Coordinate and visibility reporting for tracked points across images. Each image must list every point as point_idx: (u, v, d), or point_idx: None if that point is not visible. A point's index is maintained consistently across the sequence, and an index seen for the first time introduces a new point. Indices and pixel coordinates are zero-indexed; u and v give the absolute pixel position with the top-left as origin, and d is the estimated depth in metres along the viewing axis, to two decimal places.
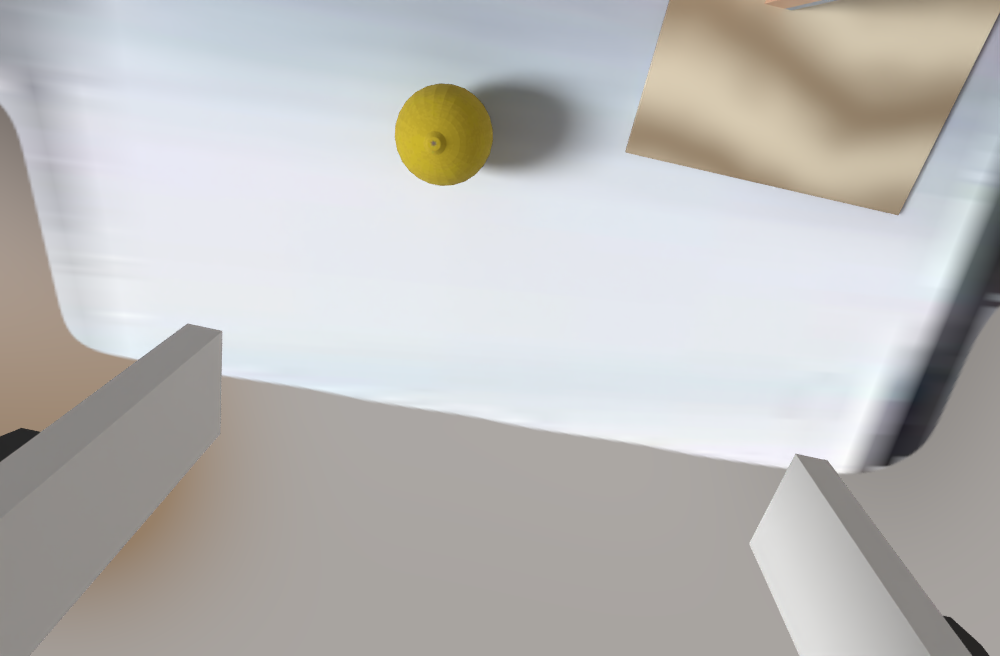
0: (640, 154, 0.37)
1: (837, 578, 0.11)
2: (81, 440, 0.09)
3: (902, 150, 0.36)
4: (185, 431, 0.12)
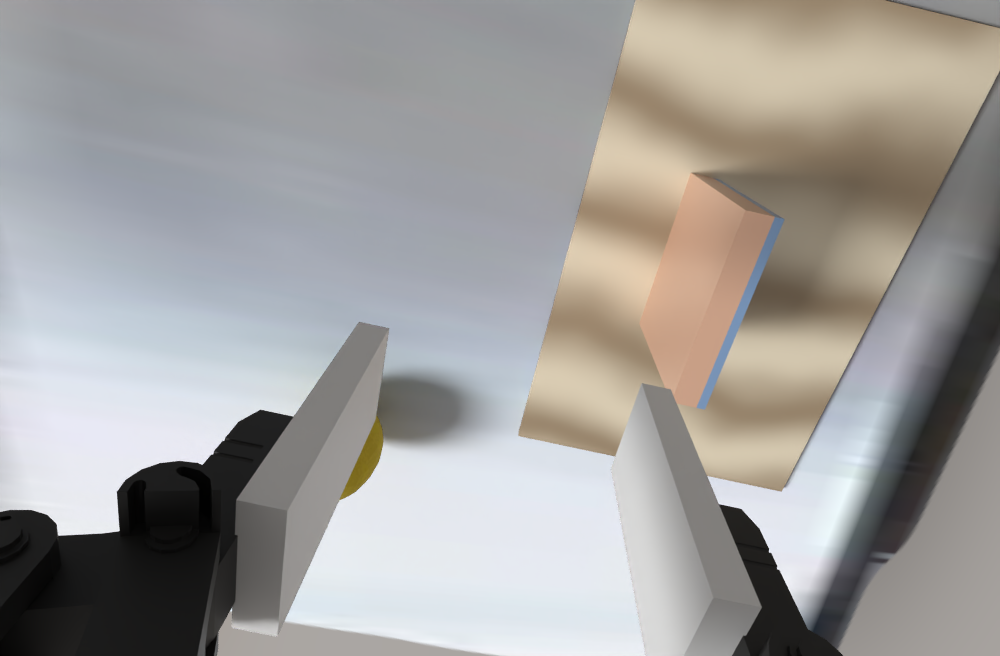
0: (532, 437, 0.39)
1: (651, 480, 0.12)
2: (330, 418, 0.11)
3: (780, 440, 0.38)
4: (365, 415, 0.14)
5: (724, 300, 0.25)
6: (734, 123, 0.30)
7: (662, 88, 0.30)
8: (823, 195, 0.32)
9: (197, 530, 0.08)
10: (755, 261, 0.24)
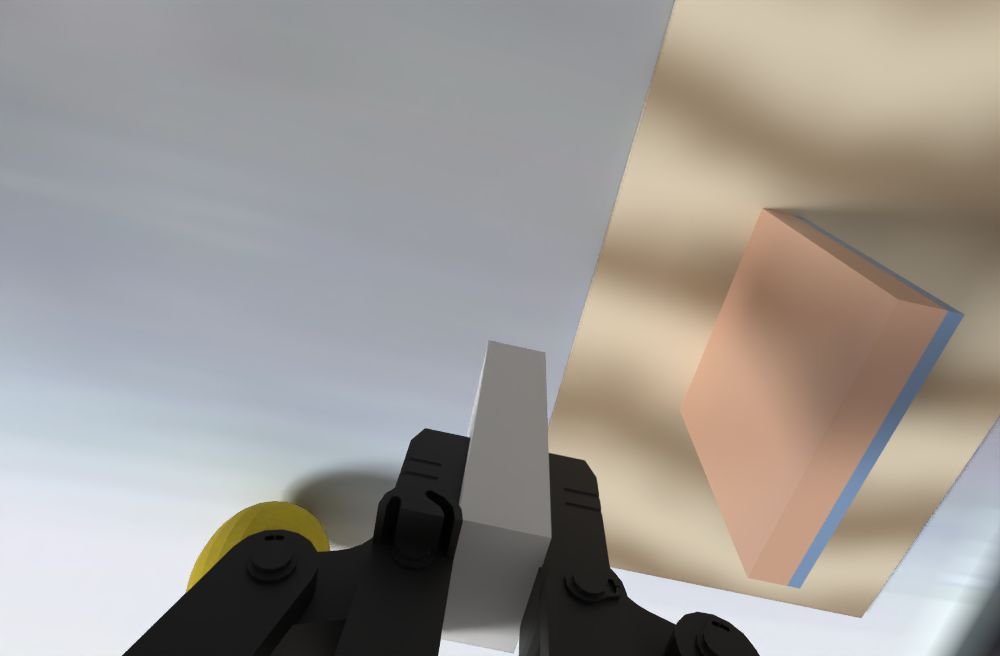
0: None
1: None
2: (503, 438, 0.11)
3: (864, 558, 0.28)
4: None
5: (846, 437, 0.15)
6: (830, 137, 0.21)
7: (725, 86, 0.20)
8: (953, 241, 0.22)
9: (435, 553, 0.09)
10: (905, 380, 0.14)
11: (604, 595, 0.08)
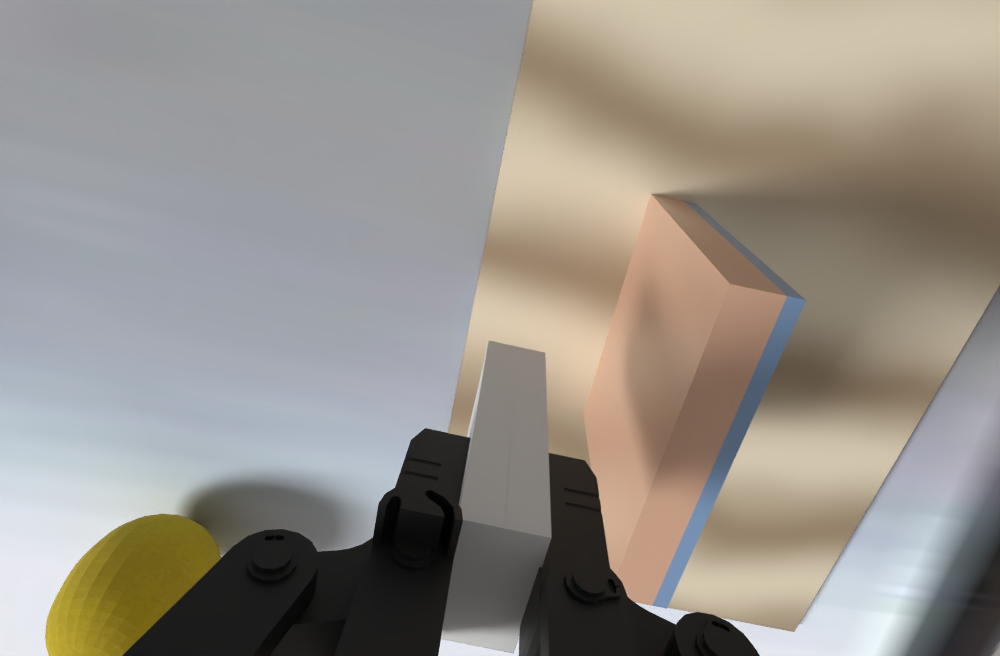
0: None
1: None
2: (503, 438, 0.11)
3: (792, 568, 0.27)
4: None
5: (694, 440, 0.13)
6: (717, 116, 0.19)
7: (599, 61, 0.19)
8: (858, 227, 0.20)
9: (435, 553, 0.09)
10: (750, 375, 0.13)
11: (604, 595, 0.08)
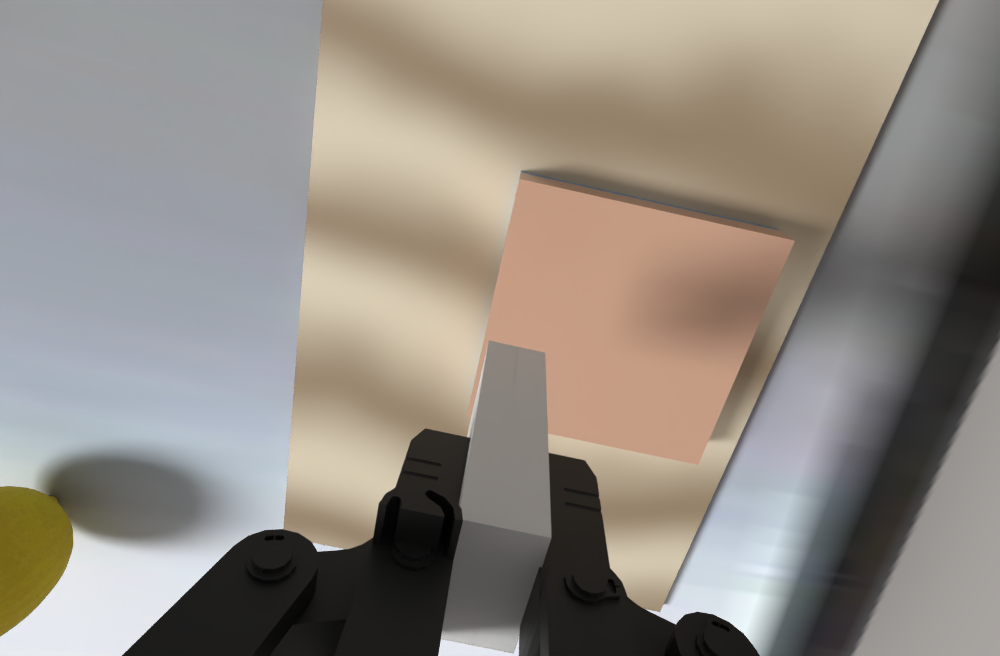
0: None
1: None
2: (503, 438, 0.11)
3: (650, 546, 0.26)
4: None
5: None
6: (523, 78, 0.19)
7: (399, 21, 0.18)
8: (676, 193, 0.20)
9: (435, 553, 0.09)
10: None
11: (604, 595, 0.08)
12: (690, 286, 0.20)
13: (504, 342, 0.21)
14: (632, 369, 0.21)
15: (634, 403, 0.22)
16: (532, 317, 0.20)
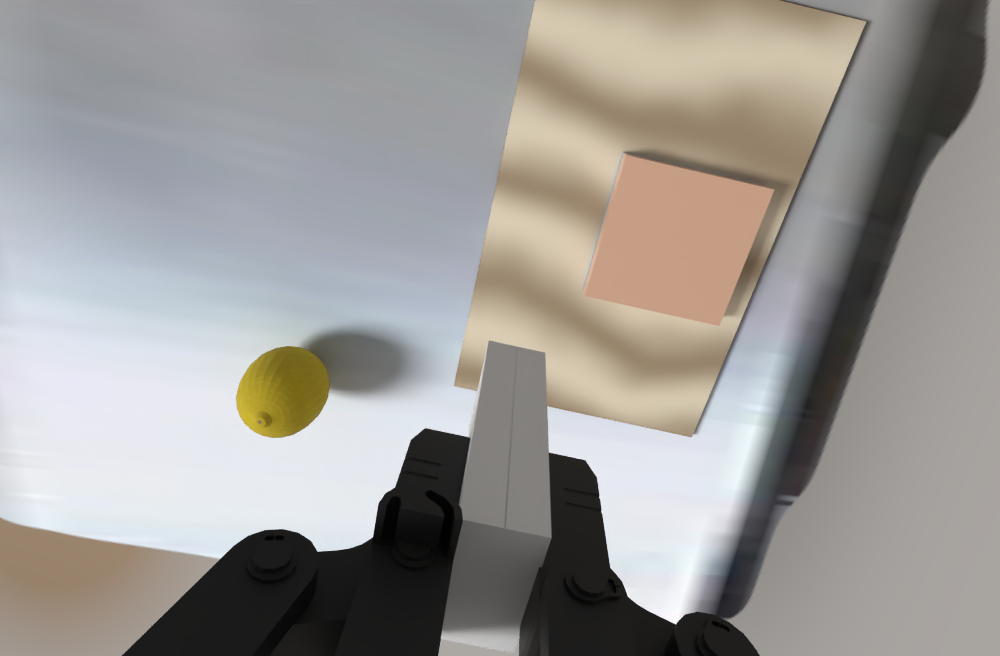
0: (466, 387, 0.43)
1: None
2: (503, 438, 0.11)
3: (687, 389, 0.42)
4: None
5: None
6: (627, 101, 0.35)
7: (563, 70, 0.34)
8: (709, 165, 0.36)
9: (435, 553, 0.09)
10: None
11: (604, 595, 0.08)
12: (717, 215, 0.36)
13: (610, 249, 0.37)
14: (683, 265, 0.37)
15: (683, 286, 0.37)
16: (627, 234, 0.36)
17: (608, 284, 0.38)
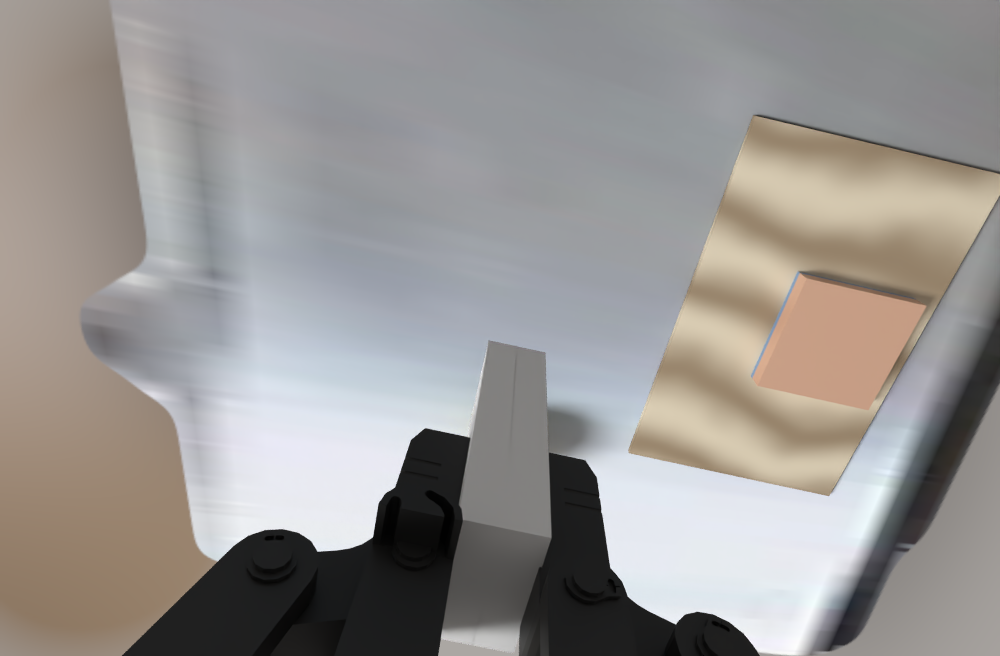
0: (639, 454, 0.51)
1: None
2: (503, 438, 0.11)
3: (830, 457, 0.50)
4: None
5: None
6: (806, 233, 0.42)
7: (756, 209, 0.42)
8: (868, 282, 0.44)
9: (435, 553, 0.09)
10: None
11: (604, 595, 0.08)
12: (876, 325, 0.43)
13: (784, 350, 0.44)
14: (843, 363, 0.44)
15: (841, 379, 0.45)
16: (800, 338, 0.44)
17: (778, 377, 0.45)
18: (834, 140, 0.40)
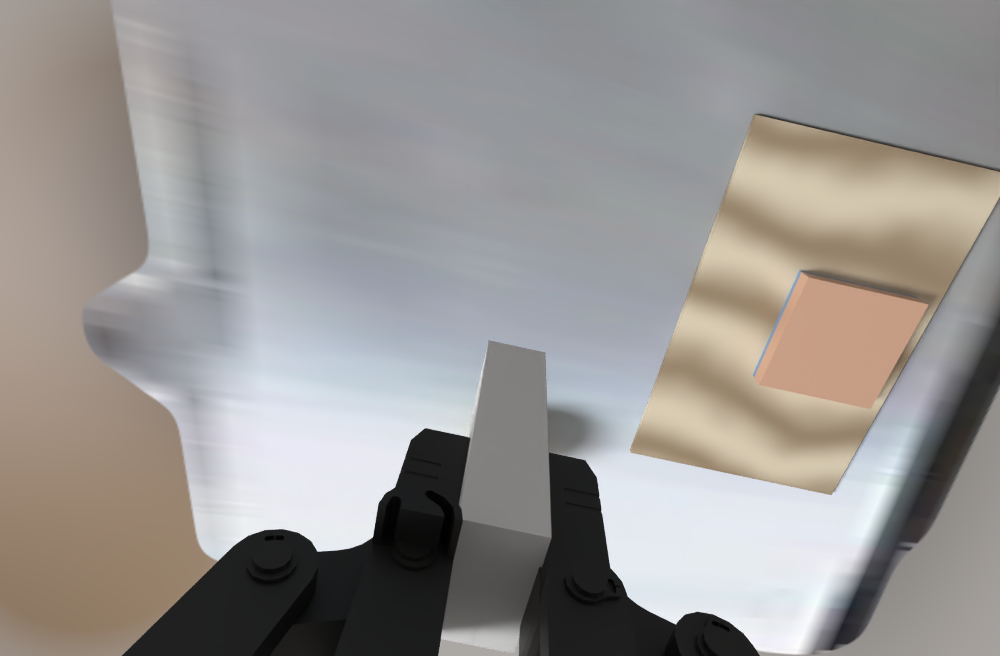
0: (641, 453, 0.51)
1: None
2: (503, 438, 0.11)
3: (832, 456, 0.50)
4: None
5: None
6: (808, 232, 0.42)
7: (757, 208, 0.42)
8: (870, 281, 0.43)
9: (435, 553, 0.09)
10: None
11: (604, 595, 0.08)
12: (878, 324, 0.43)
13: (785, 349, 0.44)
14: (845, 362, 0.44)
15: (843, 378, 0.45)
16: (801, 337, 0.44)
17: (780, 376, 0.45)
18: (836, 139, 0.40)
